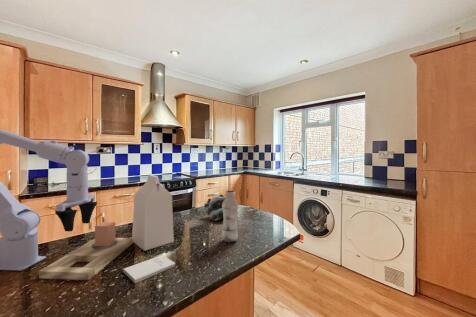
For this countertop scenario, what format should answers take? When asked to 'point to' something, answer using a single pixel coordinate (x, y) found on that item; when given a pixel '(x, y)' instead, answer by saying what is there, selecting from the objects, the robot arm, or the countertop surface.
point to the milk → (152, 215)
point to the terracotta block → (104, 234)
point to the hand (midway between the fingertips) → (77, 226)
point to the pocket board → (85, 260)
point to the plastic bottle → (230, 217)
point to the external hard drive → (148, 268)
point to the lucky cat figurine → (215, 207)
